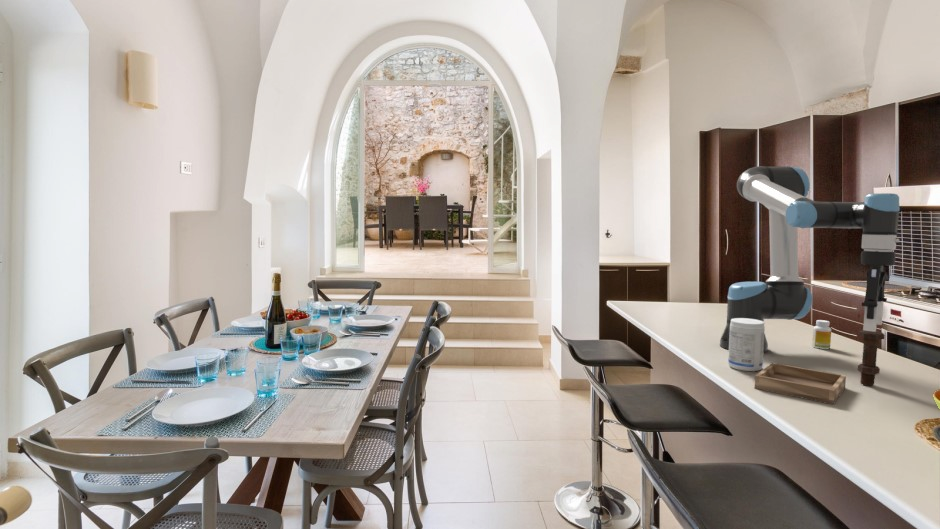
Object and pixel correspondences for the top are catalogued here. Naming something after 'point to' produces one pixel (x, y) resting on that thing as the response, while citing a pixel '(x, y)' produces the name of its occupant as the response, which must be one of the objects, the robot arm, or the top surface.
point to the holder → (801, 382)
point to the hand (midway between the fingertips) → (872, 327)
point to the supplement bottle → (822, 335)
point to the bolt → (869, 356)
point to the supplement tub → (746, 344)
